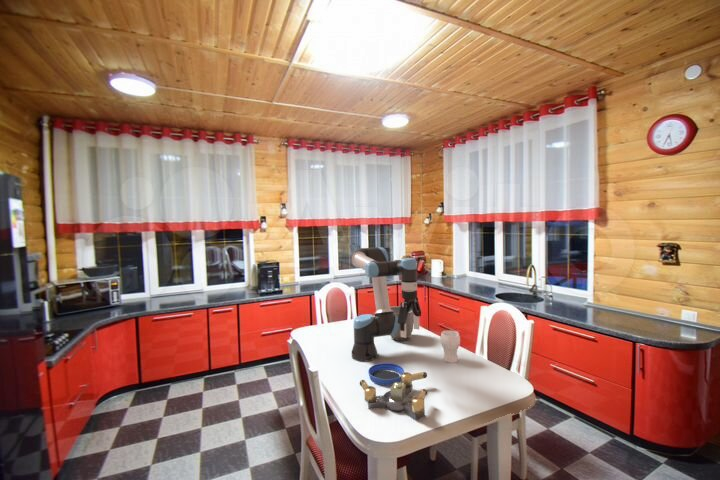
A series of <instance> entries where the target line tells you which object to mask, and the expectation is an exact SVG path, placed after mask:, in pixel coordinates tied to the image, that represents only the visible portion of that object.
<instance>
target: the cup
mask: <svg viewBox="0 0 720 480" xmlns="http://www.w3.org/2000/svg"><path fill="white" fill-rule="evenodd" d="M440 333H441V334H440V337H439V338H440V340H439V341H440V344H441V346H442V348H443V358H442V359H443V361H445V362H447V363H453V364H454V363H458V361H459V359H458V349H459V348H460V344H461V336H460V332H458V331H454V330H443V331H441V332H440Z"/></svg>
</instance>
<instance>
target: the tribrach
mask: <svg viewBox="0 0 720 480" xmlns="http://www.w3.org/2000/svg"><path fill="white" fill-rule="evenodd" d="M390 386H391V387H389V388H390V390H388V391H386V392H385V393H384V394H383V395H376V400H375V401H374V402H367V405H368V409H369V410H372V409H374V408H375V409H386V410H388V411H391V412H393V413H404V414H406V415H407V416H408V417H410V418H411V419H413V420H414V421H417V420H420V419H422V418H424V417H425V416H426V412H425V411H426V410H425V411H424V413H422V414H416V413H414V412H413V411H412V398H413V397H414V396H413V394H412V392H413V388H414V387H413V384H412V385H411V386H409V387H405V384H402V383H401V382H394V384H393V385H390ZM370 408H372V409H370Z"/></svg>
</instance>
